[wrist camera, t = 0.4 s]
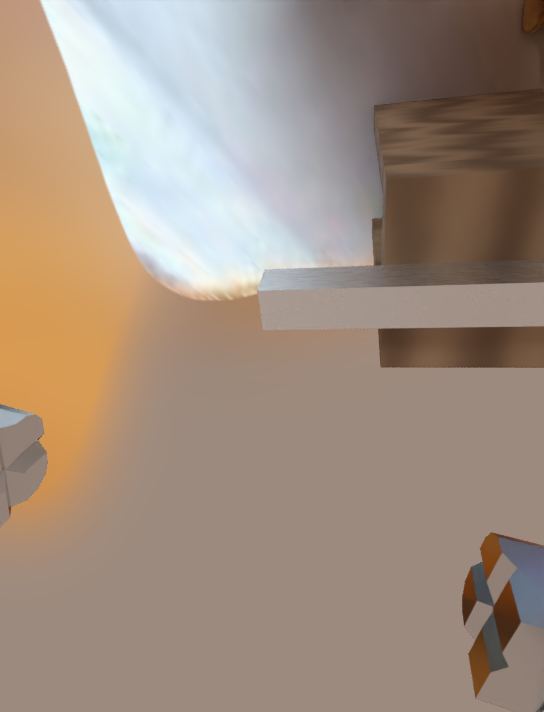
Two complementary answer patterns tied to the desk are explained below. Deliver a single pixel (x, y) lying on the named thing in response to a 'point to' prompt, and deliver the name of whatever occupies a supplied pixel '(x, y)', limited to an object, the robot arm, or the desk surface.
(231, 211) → the desk surface
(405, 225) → the chevron wooden end table
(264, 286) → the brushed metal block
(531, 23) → the stuffed squirrel
